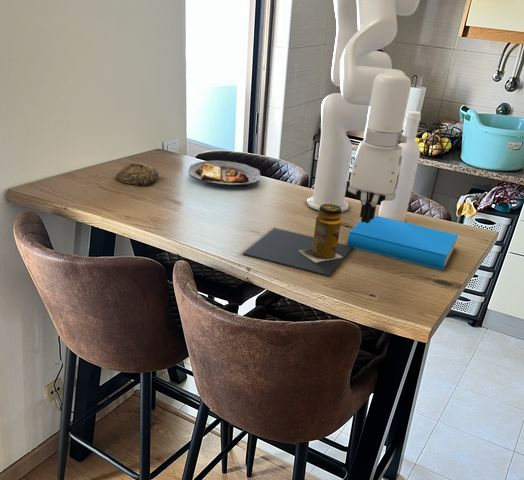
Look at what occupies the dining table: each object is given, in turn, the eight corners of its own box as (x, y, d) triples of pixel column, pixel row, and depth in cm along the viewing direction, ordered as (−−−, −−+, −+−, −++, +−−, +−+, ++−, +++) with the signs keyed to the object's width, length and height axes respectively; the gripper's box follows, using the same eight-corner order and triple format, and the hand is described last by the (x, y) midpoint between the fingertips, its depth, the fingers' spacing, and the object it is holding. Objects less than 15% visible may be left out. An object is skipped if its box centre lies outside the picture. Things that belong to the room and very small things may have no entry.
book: (367, 213, 156) (458, 233, 148) (364, 228, 158) (454, 248, 150) (348, 232, 143) (447, 254, 135) (346, 248, 145) (443, 271, 137)
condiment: (342, 257, 138) (351, 210, 131) (315, 263, 134) (322, 214, 127) (324, 246, 143) (331, 200, 136) (297, 251, 139) (303, 204, 132)
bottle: (384, 214, 169) (406, 107, 153) (408, 221, 166) (434, 113, 149) (372, 220, 164) (394, 110, 147) (397, 228, 160) (422, 116, 144)
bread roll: (163, 177, 182) (163, 161, 179) (148, 187, 172) (147, 171, 169) (126, 171, 184) (125, 156, 181) (109, 181, 173) (108, 165, 171)
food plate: (258, 193, 176) (259, 182, 174) (184, 186, 175) (184, 175, 173) (260, 171, 197) (260, 161, 195) (193, 165, 196) (193, 155, 194)
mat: (274, 229, 151) (274, 228, 151) (352, 248, 145) (353, 246, 144) (242, 254, 135) (242, 253, 135) (329, 276, 129) (329, 275, 129)
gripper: (419, 141, 120) (401, 223, 130) (352, 129, 125) (339, 210, 135) (413, 147, 114) (394, 233, 124) (343, 135, 119) (330, 219, 129)
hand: (366, 221), depth 129 cm, fingers closed
